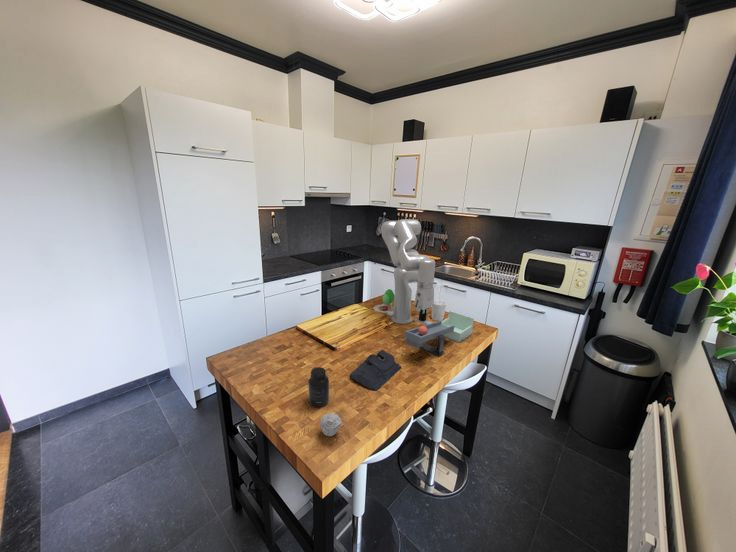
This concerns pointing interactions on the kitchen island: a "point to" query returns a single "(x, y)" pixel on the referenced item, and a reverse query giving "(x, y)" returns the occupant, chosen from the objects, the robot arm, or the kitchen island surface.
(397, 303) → the robot arm
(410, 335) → the lever
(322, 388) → the supplement bottle
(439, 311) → the white cup
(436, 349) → the lever stand
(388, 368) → the folded navy shirt
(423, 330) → the ball
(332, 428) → the gray yarn ball
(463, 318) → the bin
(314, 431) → the kitchen island surface
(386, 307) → the cactus trinket dish
